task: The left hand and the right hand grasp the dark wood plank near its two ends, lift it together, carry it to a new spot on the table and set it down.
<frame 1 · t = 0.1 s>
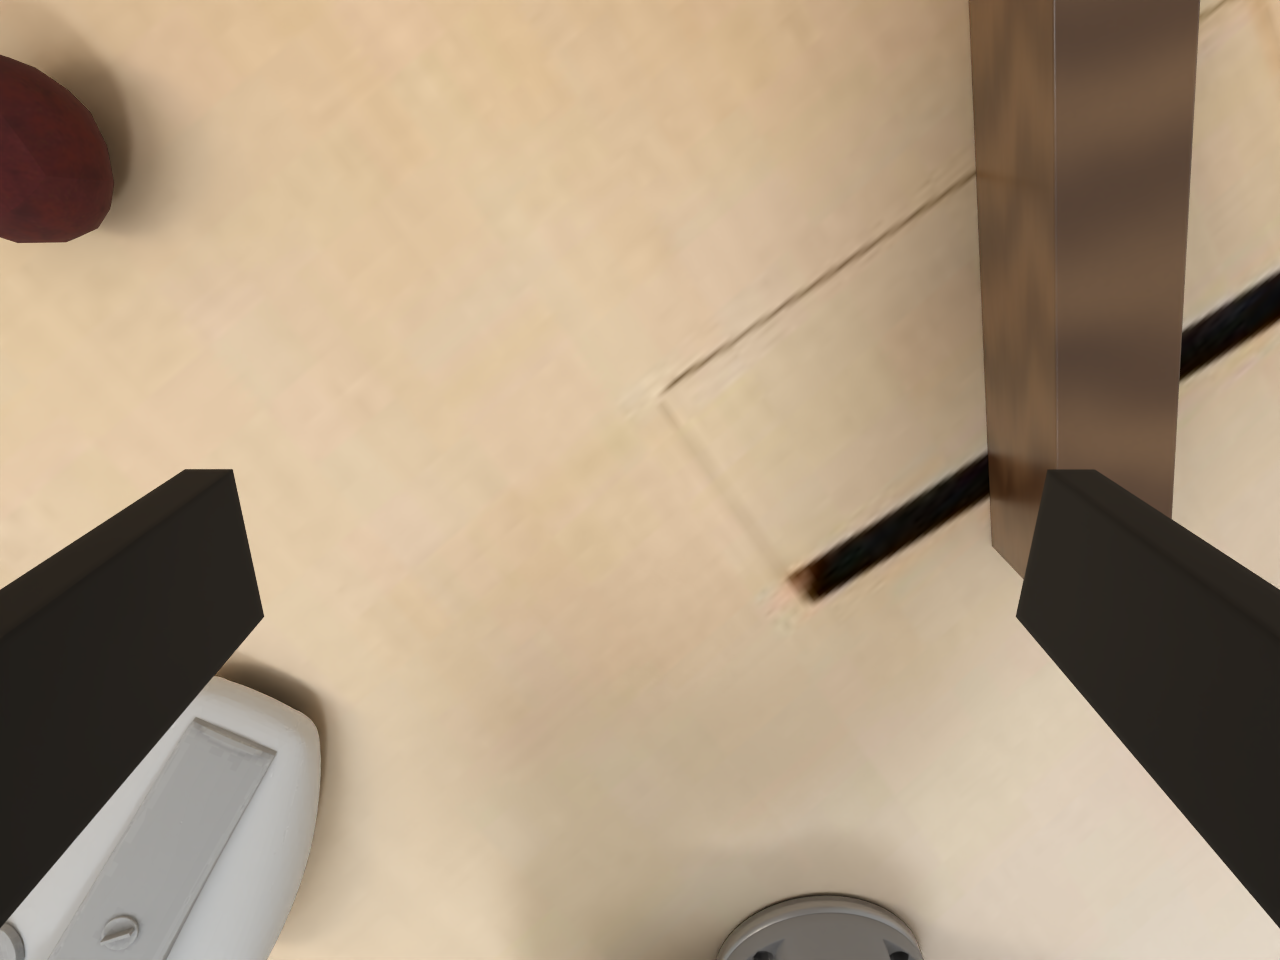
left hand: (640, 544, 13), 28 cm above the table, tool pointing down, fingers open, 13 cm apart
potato: (70, 156, 36), on the table
projector: (207, 800, 51), on the table
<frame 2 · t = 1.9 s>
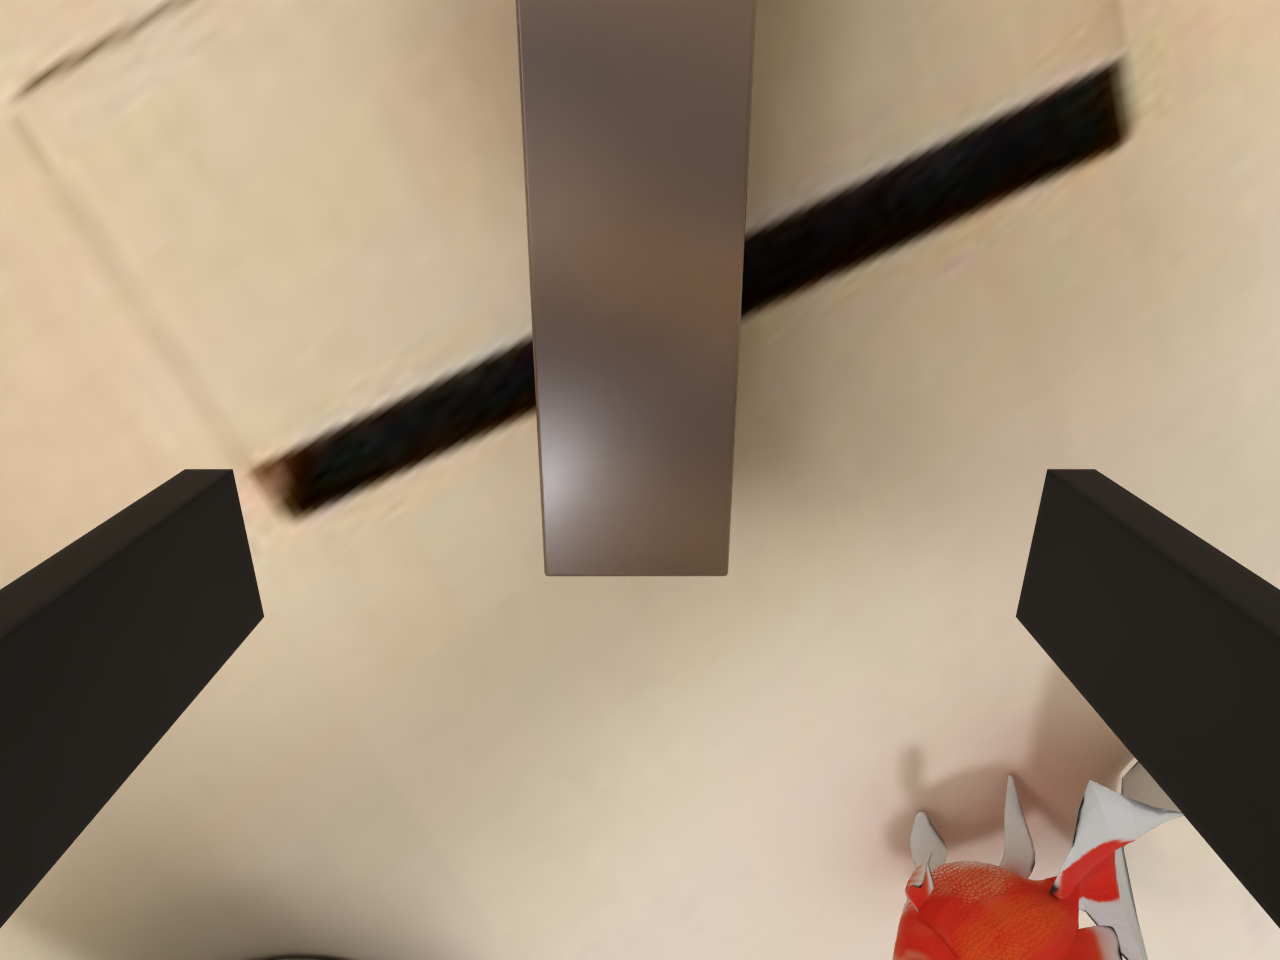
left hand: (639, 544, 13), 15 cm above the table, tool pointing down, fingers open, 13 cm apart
fish: (1007, 797, 34), on the table
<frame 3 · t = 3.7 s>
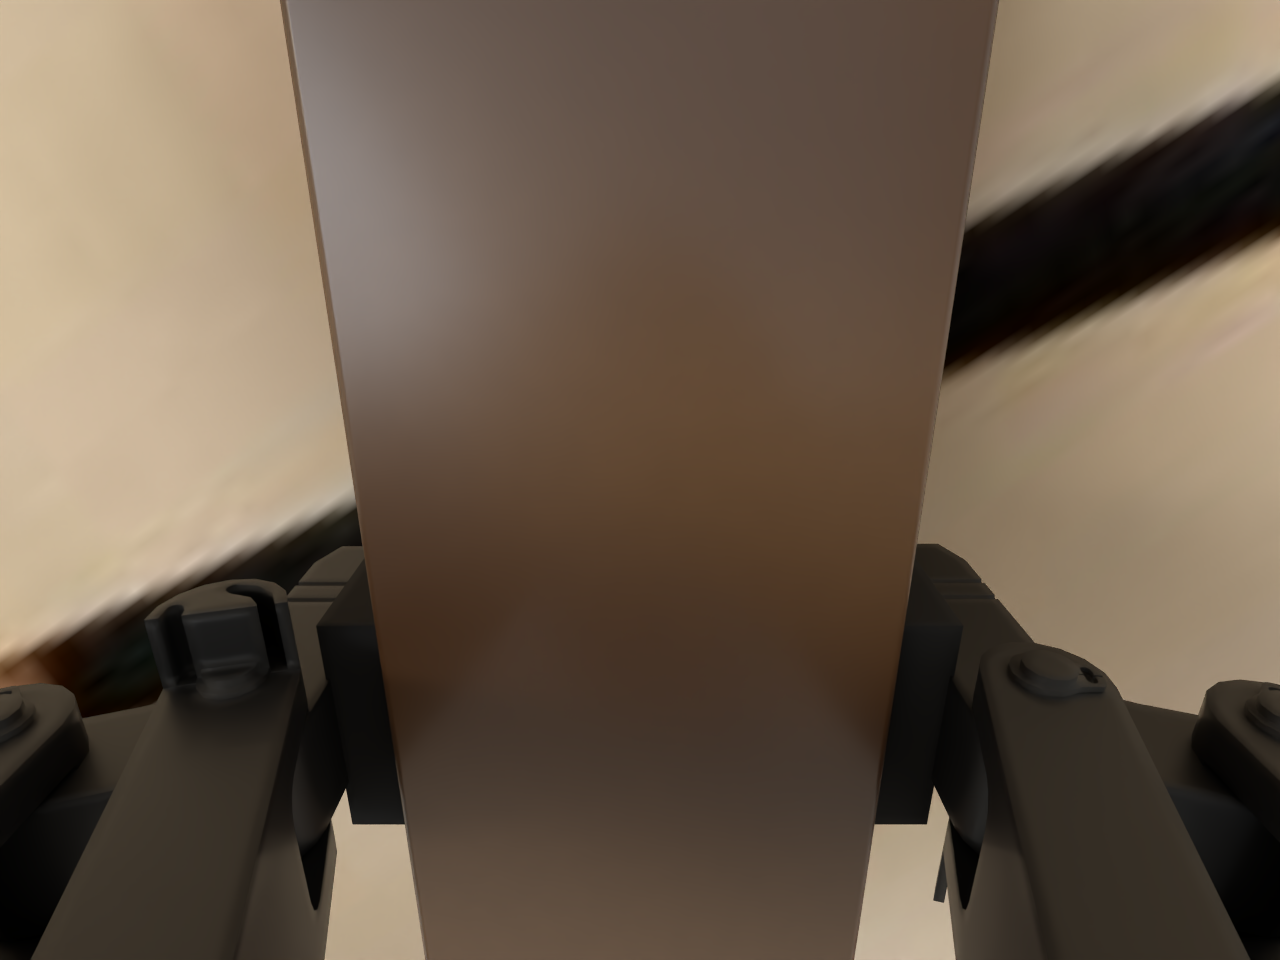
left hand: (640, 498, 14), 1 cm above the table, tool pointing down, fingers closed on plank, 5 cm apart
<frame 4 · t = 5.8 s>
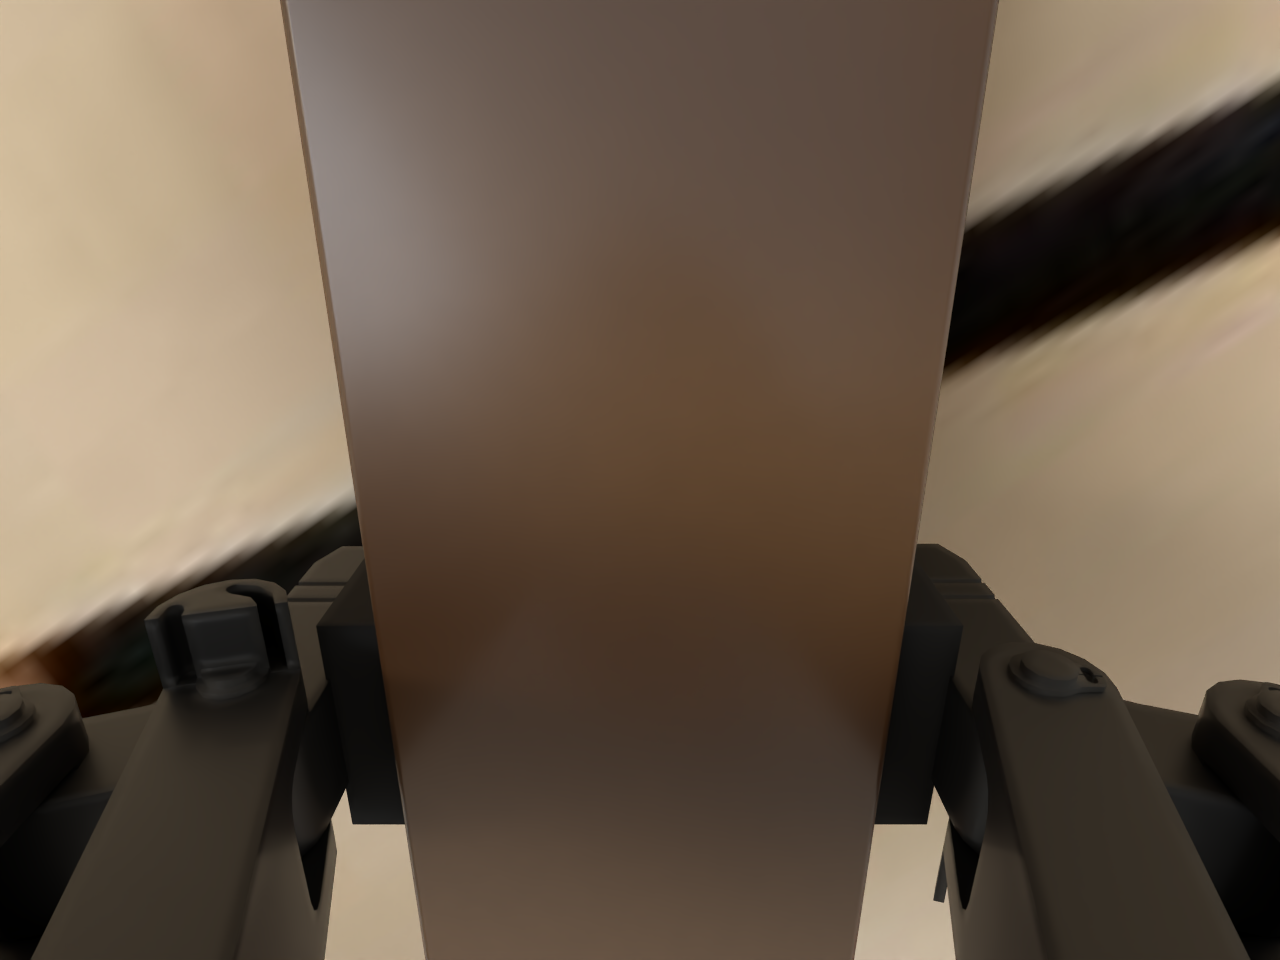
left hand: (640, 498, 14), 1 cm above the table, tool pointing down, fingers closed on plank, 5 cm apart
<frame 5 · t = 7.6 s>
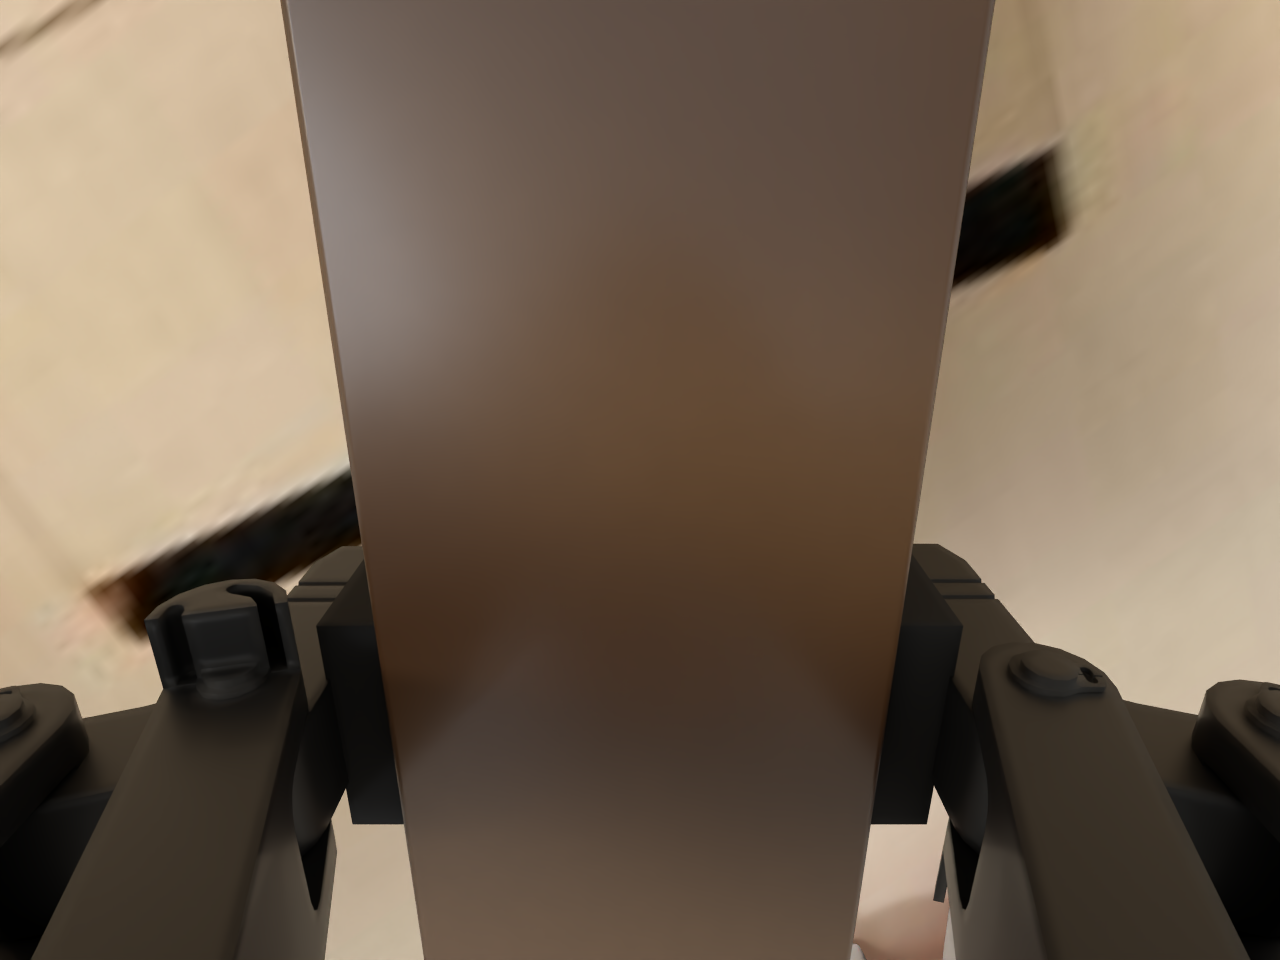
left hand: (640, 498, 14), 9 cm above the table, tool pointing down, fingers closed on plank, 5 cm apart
fish: (950, 928, 31), on the table
when the left hand's fingers open (2 cm above the table, at t = 9.6 s): plank drops 1 cm, on the table.
when the right hand's fingers open (2 cm above the table, at t = 9.6 s): plank drops 1 cm, on the table.
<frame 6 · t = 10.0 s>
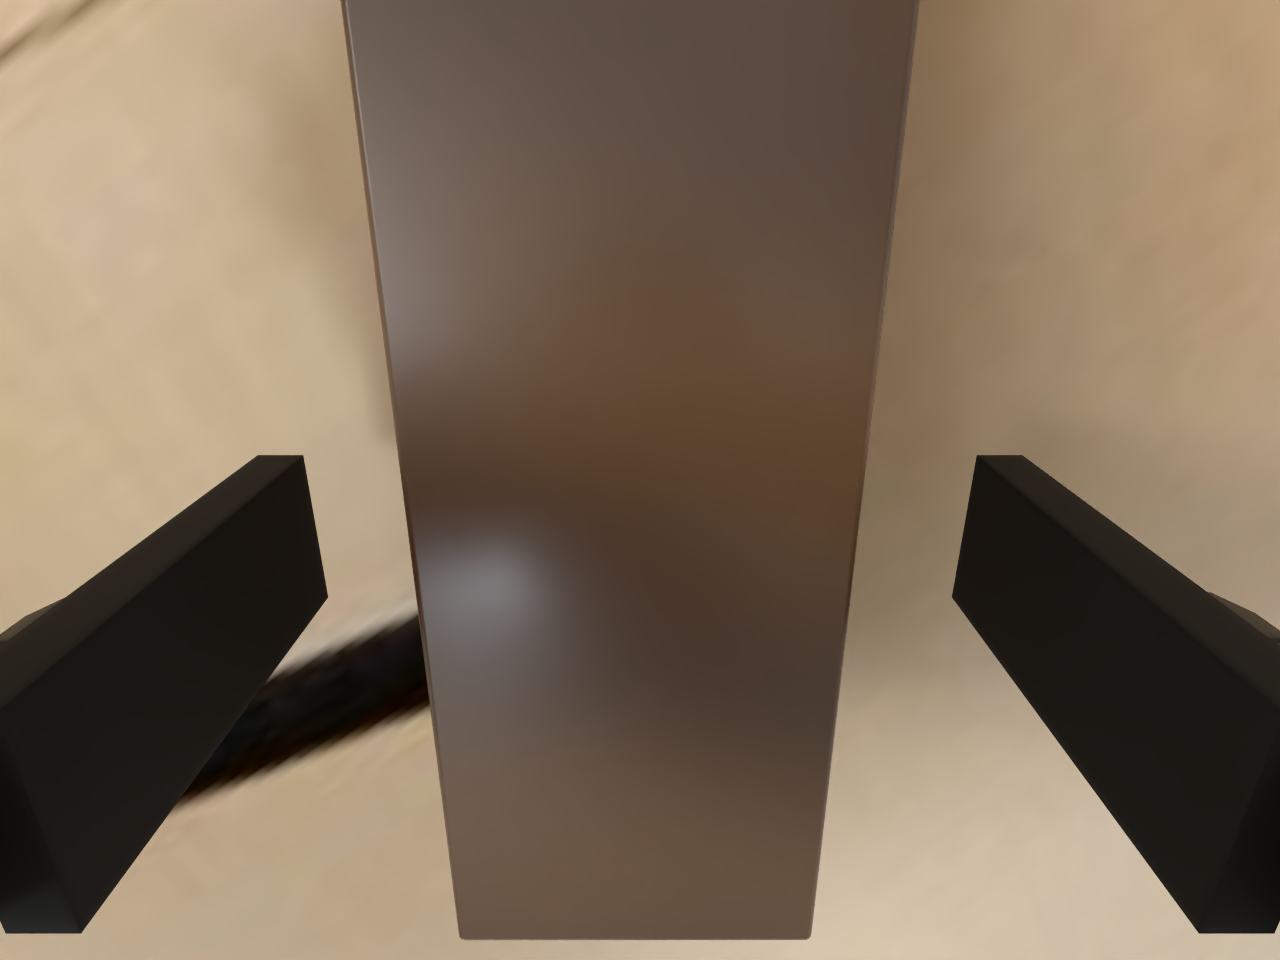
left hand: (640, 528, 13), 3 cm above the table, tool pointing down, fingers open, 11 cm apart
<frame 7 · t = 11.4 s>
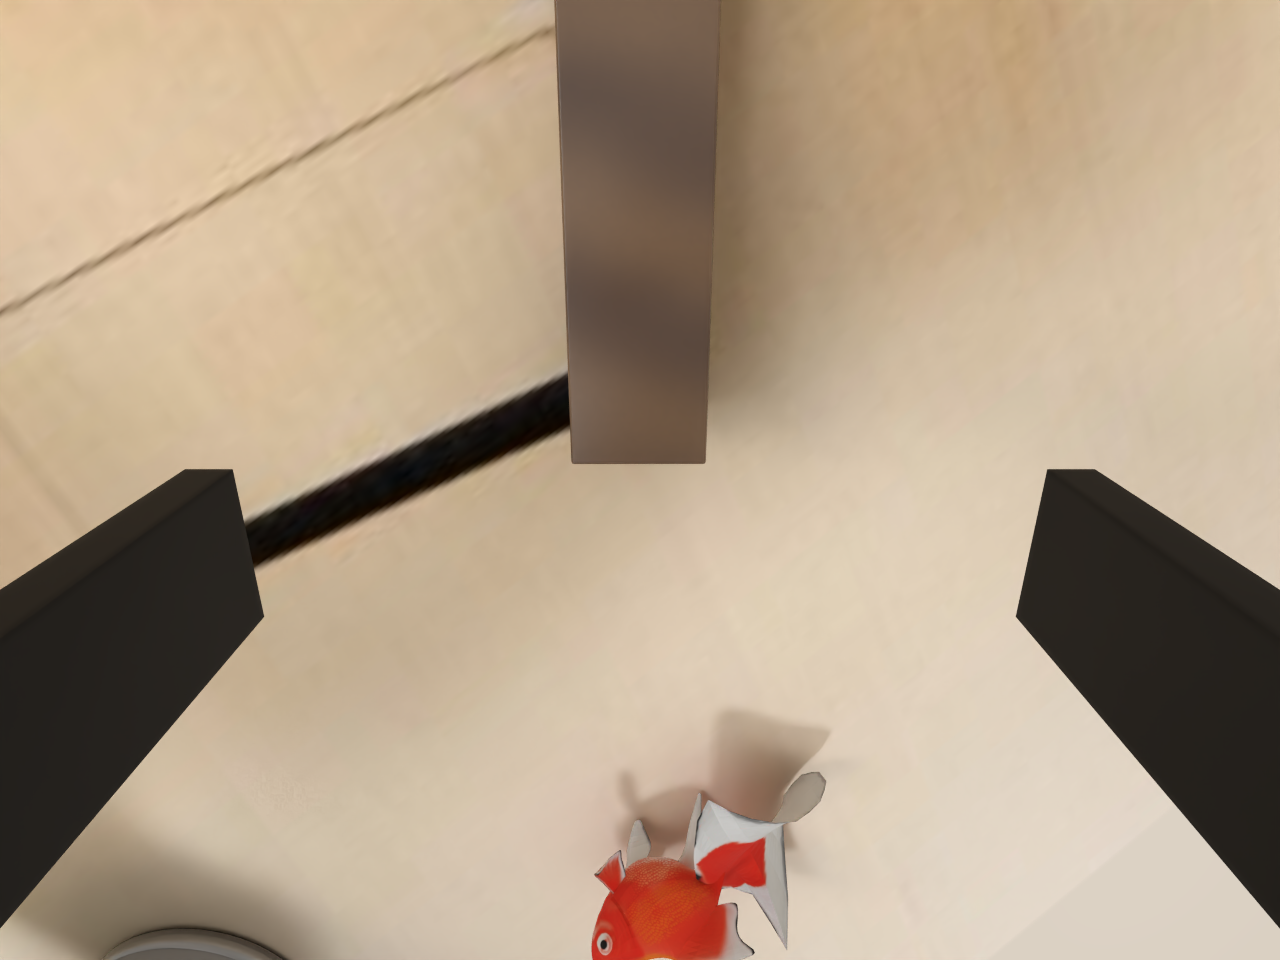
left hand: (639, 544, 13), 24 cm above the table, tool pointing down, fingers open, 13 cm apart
fish: (703, 809, 46), on the table
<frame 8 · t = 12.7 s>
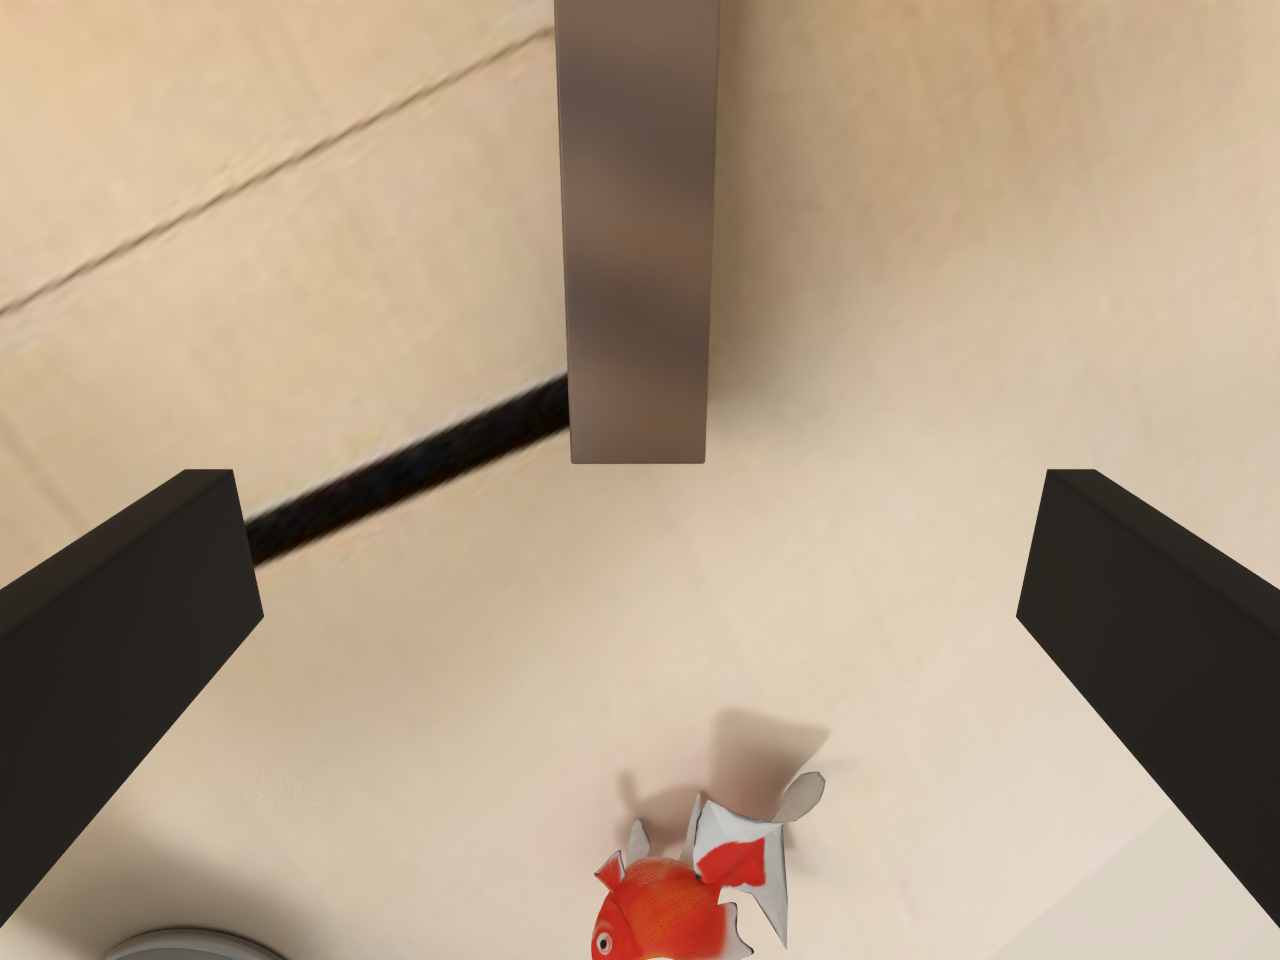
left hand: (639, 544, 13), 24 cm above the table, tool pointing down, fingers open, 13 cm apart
fish: (702, 809, 46), on the table
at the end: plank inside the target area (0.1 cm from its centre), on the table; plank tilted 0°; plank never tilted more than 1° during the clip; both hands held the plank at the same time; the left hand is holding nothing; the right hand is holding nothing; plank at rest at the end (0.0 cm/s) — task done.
